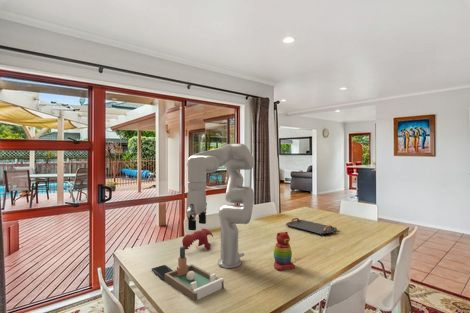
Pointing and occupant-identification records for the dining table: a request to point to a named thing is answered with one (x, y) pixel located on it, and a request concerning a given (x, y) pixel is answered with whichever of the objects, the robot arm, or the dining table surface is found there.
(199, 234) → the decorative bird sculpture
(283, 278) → the dining table surface
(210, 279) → the pitch
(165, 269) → the phone
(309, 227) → the serving board
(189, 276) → the ball
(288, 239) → the stacking bear
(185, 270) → the kicker
